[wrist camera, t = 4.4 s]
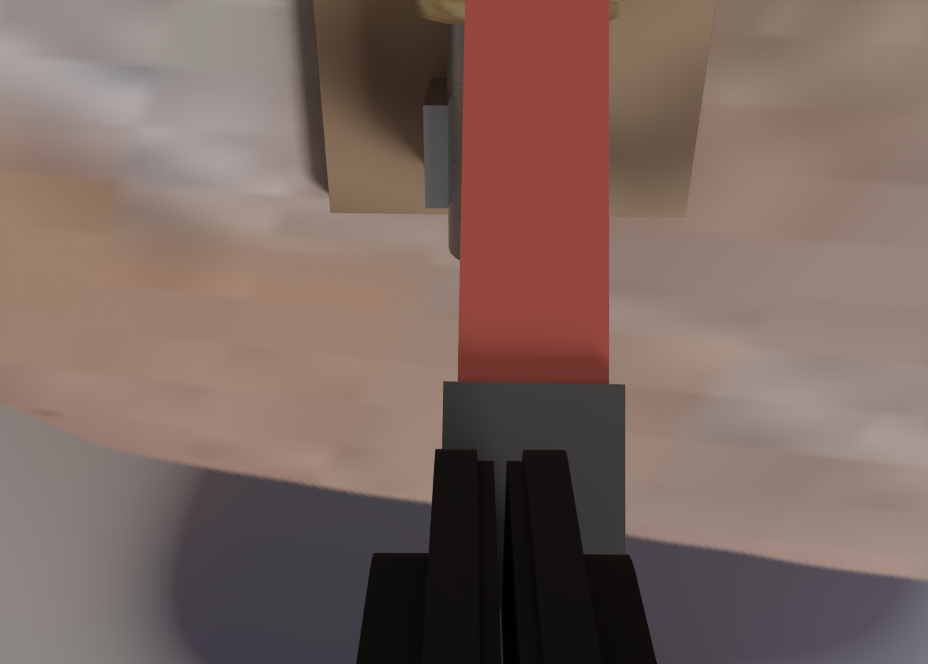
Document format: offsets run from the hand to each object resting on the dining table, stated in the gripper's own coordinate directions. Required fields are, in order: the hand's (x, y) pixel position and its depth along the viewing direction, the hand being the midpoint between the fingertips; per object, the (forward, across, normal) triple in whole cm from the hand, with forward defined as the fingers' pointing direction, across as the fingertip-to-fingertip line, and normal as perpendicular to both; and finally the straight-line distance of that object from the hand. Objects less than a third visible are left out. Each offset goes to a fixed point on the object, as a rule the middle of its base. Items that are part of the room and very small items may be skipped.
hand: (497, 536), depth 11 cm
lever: (+5, -1, -2) cm, 6 cm away
